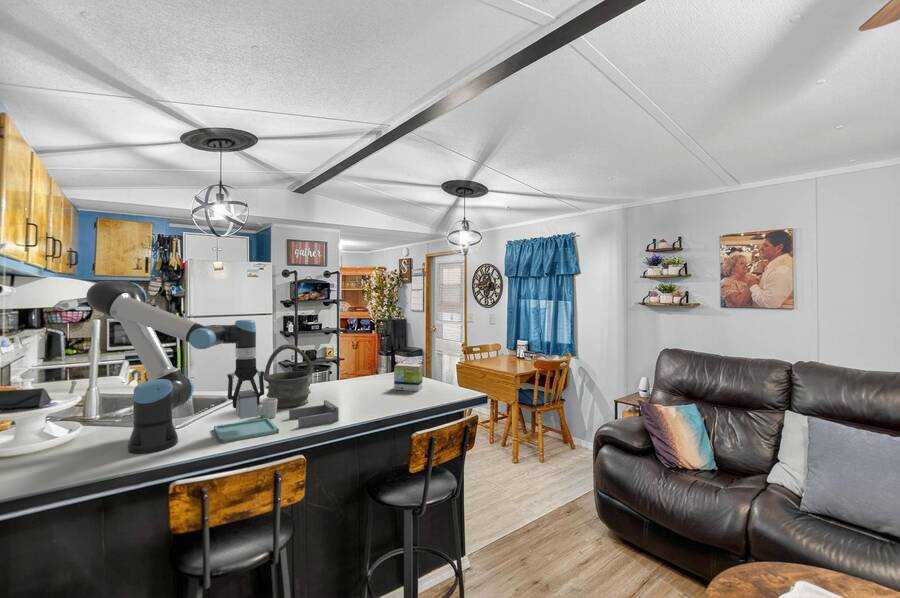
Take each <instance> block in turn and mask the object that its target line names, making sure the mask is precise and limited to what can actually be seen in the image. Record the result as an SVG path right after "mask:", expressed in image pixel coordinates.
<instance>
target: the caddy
mask: <svg viewBox="0 0 900 598" xmlns="http://www.w3.org/2000/svg"><path fill="white" fill-rule="evenodd" d="M237 399H238V400H239V416H238V418H239V420H244V419H250V418H257V416H258V412H257V410H258V405H257V394H256V393H255V392H254V390H253V389H246V390H240V391H239V394H238V397H237Z"/></svg>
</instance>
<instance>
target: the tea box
mask: <svg viewBox="0 0 900 598" xmlns="http://www.w3.org/2000/svg"><path fill="white" fill-rule="evenodd" d="M423 370H424V364H423V363H412V362H398V363H397V364H395V365H394V368H393V375H394V376H393V390H394V391H409V392H410V391H411V392H419V391H420V390H421V389H423V378H424V376H423V375H424V373H423Z"/></svg>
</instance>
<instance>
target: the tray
mask: <svg viewBox="0 0 900 598" xmlns="http://www.w3.org/2000/svg"><path fill="white" fill-rule="evenodd" d="M213 431H214V433H215V435H216V437H217V439H218V442H219V443H220V444H224V443H230V442H235V441H241V440H246V439H251V438H259V437H264V436H269V435H275V434H279V433H280V429H279V428H278V427H277V425H275V423H274V422H273V421H272V420H271V418H258V419H257V418H256V419H251V420H244V421H238V422H232V423H225V424H219V425H214V426H213Z"/></svg>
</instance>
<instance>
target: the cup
mask: <svg viewBox="0 0 900 598" xmlns="http://www.w3.org/2000/svg"><path fill="white" fill-rule="evenodd" d="M277 401H278V400H277V398H268V397H266V398H264V397H263V398H261V399H260V404H259V405H258V406H257V416H259V417H260V419H263V418H269V419H273V418H275V417H276V415H277V409H278V408H277Z"/></svg>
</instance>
